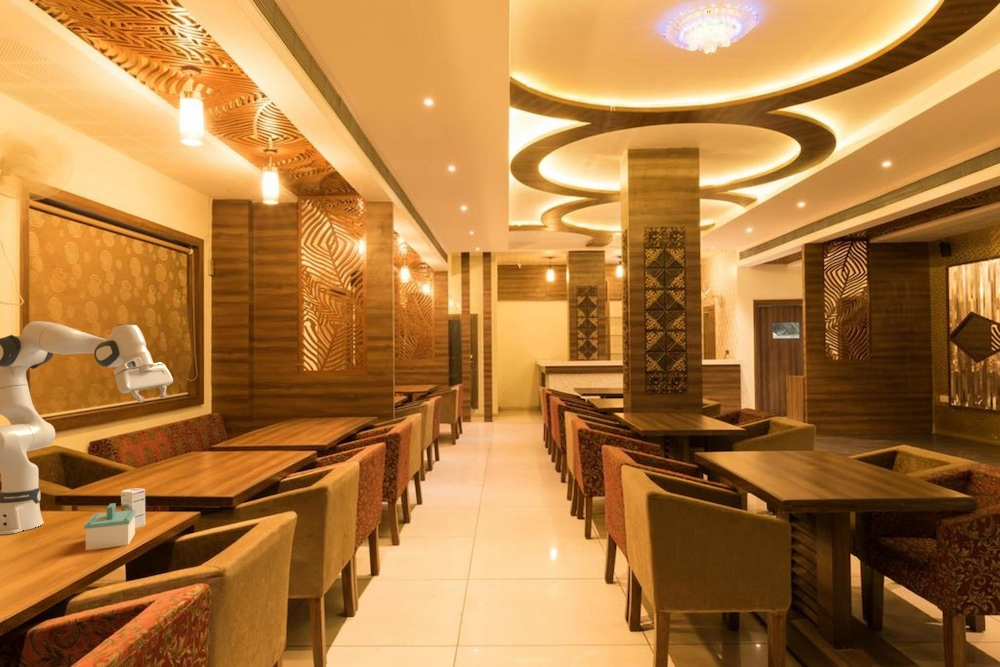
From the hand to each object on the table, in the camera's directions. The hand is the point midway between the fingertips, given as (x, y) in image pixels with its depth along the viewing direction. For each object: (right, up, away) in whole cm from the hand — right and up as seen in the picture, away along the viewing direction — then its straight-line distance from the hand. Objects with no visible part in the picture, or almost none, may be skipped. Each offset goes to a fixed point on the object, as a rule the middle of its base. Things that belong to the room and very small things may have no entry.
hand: (152, 399), depth 222 cm
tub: (-6, -48, -14) cm, 50 cm away
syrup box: (-10, -48, +4) cm, 49 cm away
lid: (-6, -41, -14) cm, 44 cm away
